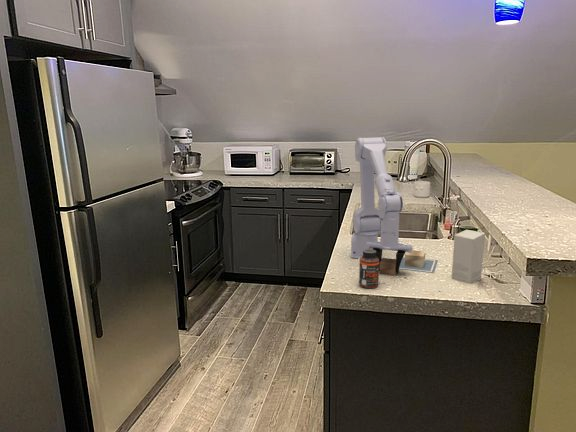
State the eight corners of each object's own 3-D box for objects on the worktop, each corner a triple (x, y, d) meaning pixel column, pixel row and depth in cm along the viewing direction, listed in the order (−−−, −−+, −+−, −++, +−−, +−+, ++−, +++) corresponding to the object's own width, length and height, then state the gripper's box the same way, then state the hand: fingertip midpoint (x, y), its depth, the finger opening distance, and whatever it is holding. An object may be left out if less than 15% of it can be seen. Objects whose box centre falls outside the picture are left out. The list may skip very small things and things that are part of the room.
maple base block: (404, 265, 153) (405, 254, 152) (407, 260, 159) (407, 249, 158) (422, 267, 151) (423, 256, 150) (424, 262, 156) (425, 251, 155)
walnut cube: (379, 276, 147) (379, 262, 146) (382, 271, 151) (382, 257, 150) (394, 278, 145) (395, 264, 144) (397, 273, 149) (397, 259, 148)
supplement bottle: (365, 290, 136) (366, 254, 133) (355, 283, 141) (355, 249, 139) (382, 287, 138) (383, 252, 136) (371, 280, 143) (372, 246, 141)
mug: (407, 197, 280) (407, 182, 278) (413, 194, 288) (414, 180, 286) (425, 198, 273) (426, 184, 271) (431, 196, 281) (432, 181, 279)
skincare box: (462, 275, 146) (466, 228, 143) (483, 280, 142) (486, 232, 138) (450, 281, 141) (453, 234, 137) (470, 287, 136) (474, 238, 133)
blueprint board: (390, 271, 152) (390, 268, 151) (397, 258, 164) (397, 255, 164) (433, 276, 146) (434, 272, 146) (437, 262, 159) (437, 259, 158)
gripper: (364, 232, 144) (363, 272, 147) (410, 236, 138) (409, 277, 141) (369, 227, 150) (368, 265, 153) (414, 230, 145) (412, 270, 148)
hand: (388, 271), depth 148 cm, fingers closed on walnut cube, 5 cm apart
